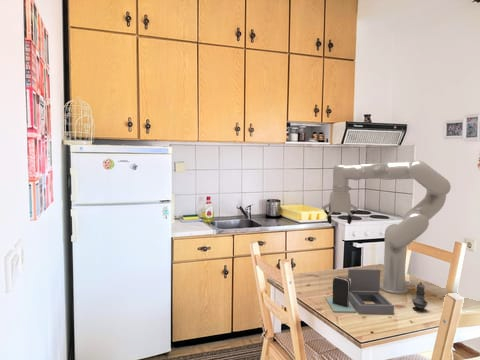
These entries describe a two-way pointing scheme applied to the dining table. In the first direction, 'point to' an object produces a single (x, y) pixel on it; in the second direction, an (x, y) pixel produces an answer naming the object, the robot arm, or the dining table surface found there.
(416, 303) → the dark grey upright piece
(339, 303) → the battery charger
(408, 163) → the robot arm
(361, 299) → the case
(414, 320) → the dining table surface
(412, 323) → the dining table surface
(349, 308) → the rubber mat
